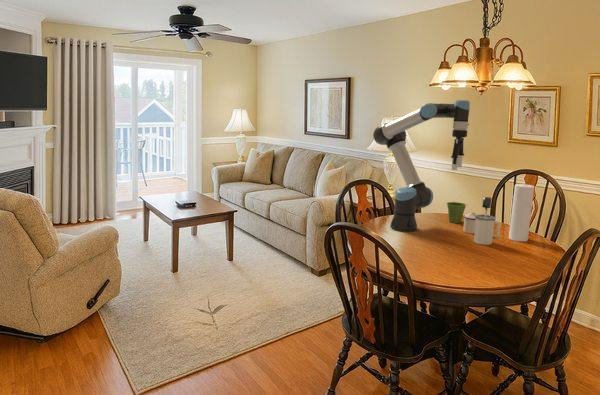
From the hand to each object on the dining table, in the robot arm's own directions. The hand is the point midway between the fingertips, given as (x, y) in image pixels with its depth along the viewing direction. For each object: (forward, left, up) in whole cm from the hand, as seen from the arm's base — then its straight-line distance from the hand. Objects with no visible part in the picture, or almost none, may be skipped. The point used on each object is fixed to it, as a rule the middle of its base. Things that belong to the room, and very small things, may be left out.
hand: (456, 168), depth 254 cm
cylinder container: (+34, +9, -37) cm, 51 cm away
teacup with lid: (+9, +11, -37) cm, 40 cm away
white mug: (+19, -8, -37) cm, 42 cm away
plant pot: (-3, +29, -37) cm, 47 cm away
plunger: (+18, -8, -33) cm, 38 cm away
